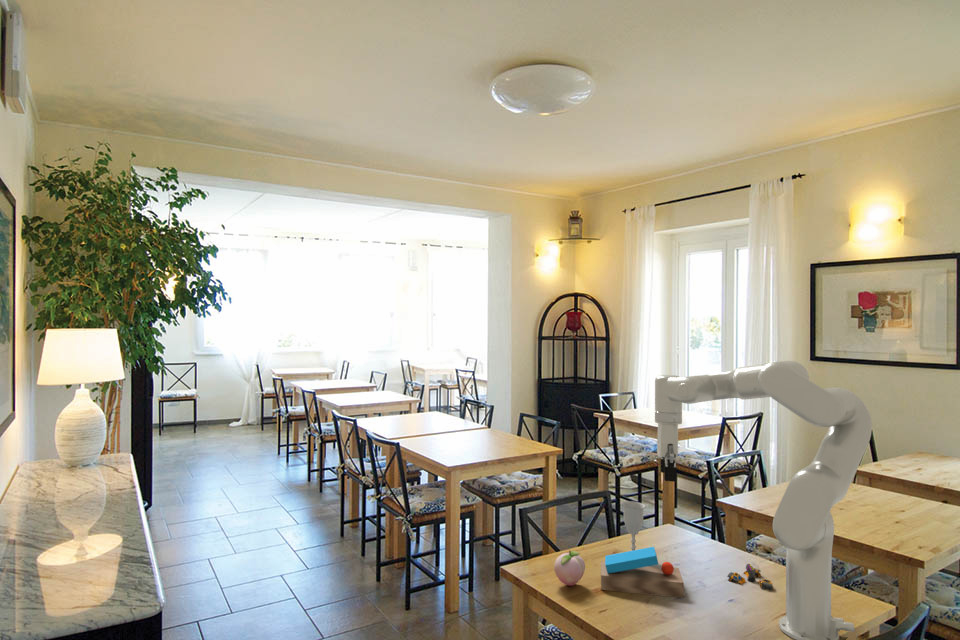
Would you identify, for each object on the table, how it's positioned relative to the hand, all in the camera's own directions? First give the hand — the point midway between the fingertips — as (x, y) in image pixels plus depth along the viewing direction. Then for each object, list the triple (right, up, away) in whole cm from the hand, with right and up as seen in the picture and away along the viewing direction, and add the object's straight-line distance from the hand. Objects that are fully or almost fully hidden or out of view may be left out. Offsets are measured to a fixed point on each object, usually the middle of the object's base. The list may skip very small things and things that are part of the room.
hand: (668, 476), depth 167 cm
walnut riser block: (-9, -30, -3) cm, 32 cm away
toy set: (+25, -31, -1) cm, 40 cm away
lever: (-9, -26, -3) cm, 28 cm away
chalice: (-7, -31, +13) cm, 34 cm away
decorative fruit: (-29, -30, -4) cm, 42 cm away
